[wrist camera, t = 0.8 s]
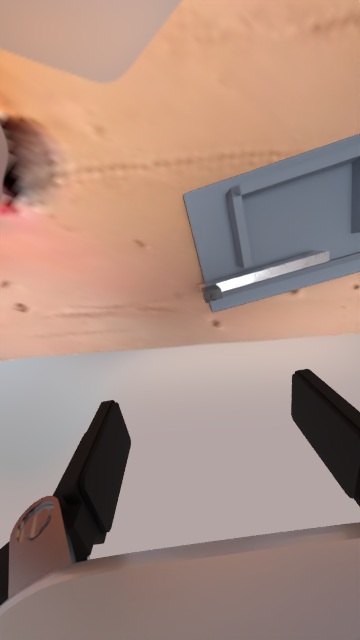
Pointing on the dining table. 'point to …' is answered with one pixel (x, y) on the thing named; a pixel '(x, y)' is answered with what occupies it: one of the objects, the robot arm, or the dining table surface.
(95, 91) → the dining table surface
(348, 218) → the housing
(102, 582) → the robot arm
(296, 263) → the gate
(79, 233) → the dining table surface
